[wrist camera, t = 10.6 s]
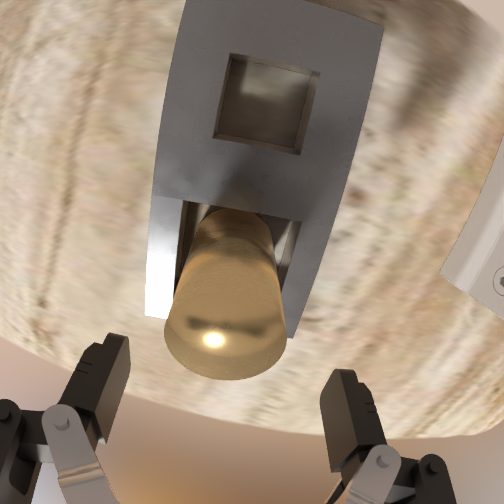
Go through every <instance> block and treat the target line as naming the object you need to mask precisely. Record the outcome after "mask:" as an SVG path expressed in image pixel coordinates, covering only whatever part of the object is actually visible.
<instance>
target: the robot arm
mask: <svg viewBox="0 0 504 504" xmlns="http://www.w3.org/2000/svg"><path fill="white" fill-rule="evenodd" d="M130 366H131V362H130V350H129V339H128V337H126V336H122V335H118V334H114V333H108V334H107V336H106V338H105V340H104V342H103V344H99V343H95V342H94V343H93V344H92V345H91V346H89V347H88V348H87V349H86V350H85V351H84V353H83V355H82V357H81V358H80V361H79V362H78V364H77V366H76V368H75V371H74V372H73V374H72V376H71V378H70V380H69V382H68V384H67V386H66V389H65V390H64V392H63V395H62V397H61V399H60V401H59V402H58V403H57V404H56V405H53V406H51V407H49V408H48V409H47V410H46V411H30V410H20V409H19V407H18V405H16V403H14V402H13V401H11V400H8V399H1V400H0V504H31V502H32V498H33V494H34V490H35V486H36V483H37V479H38V476H39V472H40V469H41V465H42V462H43V463H54V464H55V466H56V469H57V472H58V476H59V477H58V482H59V485H60V488H61V490H62V493H63V495H64V498H65V500H66V502H67V504H120V502H119V500H118V498H117V497H116V495H115V493H114V491H113V489H112V487H111V486H110V483H109V482H108V479H107V478H106V475H105V473H104V471H103V469H102V467H101V465H100V463H99V461H98V458H97V456H96V454H95V450H96V446H97V443H98V442H99V443H102V444H105V445H106V443H107V440H108V437H109V434H110V431H111V427H112V424H113V421H114V418H115V415H116V412H117V409H118V406H119V403H120V400H121V397H122V394H123V392H124V389H125V386H126V383H127V380H128V377H129V373H130ZM320 409H321V415H322V420H323V426H324V432H325V438H326V443H327V450H328V456H329V462H330V468H331V472H332V473H333V472H341V476H342V478H341V479H340V480H339V482H338V483H337V484H336V486H335V488H334V489H333V491H332V492H331V494H330V495H329V497H328V498H327V499H326V501H325V502H324V504H457V503H456V499H455V495H454V491H453V488H452V484H451V480H450V477H449V473H448V470H447V466H446V464H445V462H444V461H443V459H442V458H440V457H439V456H437V455H435V454H428V455H425V456H424V457H423V458H421V459H420V460H415V459H410V458H404V457H401V456H400V455H399V453H398V452H397V451H396V450H395V449H394V448H393V447H391V446H388V445H387V442H386V439H385V436H384V432H383V429H382V426H381V422H380V419H379V416H378V413H377V409H376V406H375V405H374V400H373V397H372V394H371V392H370V390H369V389H368V388H367V386H366V385H365V384H364V383H359V382H358V379H357V376H356V373H355V371H354V370H349V369H335V370H334V371H333V372H332V374H331V376H330V378H329V380H328V382H327V383H326V385H325V387H324V389H323V390H322V393H321V396H320Z"/></svg>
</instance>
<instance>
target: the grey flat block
mask: <svg viewBox="0 0 504 504" xmlns="http://www.w3.org/2000/svg"><path fill="white" fill-rule="evenodd" d="M383 31H384V27H383V26H380V25H378V24H375V23H373V22H370V21H367V20H365V19H362V18H359V17H357V16H354V15H351V14H348V13H345V12H342V11H339V10H336V9H333V8H329V7H326V6H323V5H319V4H316V3H312V2H308V1H305V0H186V3H185V7H184V11H183V14H182V18H181V22H180V26H179V31H178V35H177V39H176V43H175V48H174V52H173V57H172V62H171V67H170V72H169V77H168V82H167V87H166V93H165V99H164V105H163V111H162V117H161V123H160V130H159V137H158V144H157V152H156V160H155V168H154V177H153V186H152V196H151V208H150V220H149V234H148V251H147V273H146V315H150V316H155V317H160V318H165V319H167V317H168V314H169V311H170V307H171V304H172V301H173V298H174V295H175V292H176V289H177V286H178V283H179V280H180V268H181V258H182V250H183V241H184V233H185V225H186V217H187V209H188V202H189V201H192V202H198V203H204V204H209V205H215V206H221V207H226V208H232V209H237V210H243V211H248V212H254V213H259V214H264V215H269V216H275V217H280V218H285V219H290V220H292V222H291V226H290V230H289V233H288V237H287V241H286V244H285V248H284V251H283V255H282V259H281V262H280V266H279V269H278V280H279V286H280V293H281V299H282V306H283V313H284V319H285V326H286V334H287V338H293V337H294V334H295V331H296V329H297V326H298V324H299V321H300V318H301V316H302V313H303V310H304V307H305V305H306V302H307V299H308V297H309V294H310V291H311V288H312V285H313V283H314V280H315V277H316V274H317V271H318V268H319V265H320V262H321V259H322V256H323V254H324V251H325V248H326V245H327V241H328V238H329V235H330V232H331V229H332V226H333V223H334V220H335V217H336V213H337V210H338V207H339V204H340V201H341V197H342V194H343V191H344V187H345V184H346V181H347V177H348V174H349V170H350V167H351V163H352V160H353V156H354V152H355V149H356V145H357V142H358V138H359V134H360V130H361V126H362V123H363V119H364V115H365V111H366V107H367V103H368V99H369V95H370V90H371V86H372V82H373V78H374V73H375V69H376V64H377V60H378V55H379V50H380V45H381V41H382V36H383ZM232 59H236V60H242V61H247V62H253V63H258V64H263V65H268V66H273V67H277V68H282V69H286V70H290V71H294V72H298V73H302V74H306V75H310V76H311V77H310V82H309V86H308V90H307V94H306V99H305V103H304V107H303V111H302V115H301V120H300V124H299V128H298V132H297V136H296V140H295V145H294V148H290V147H285V146H281V145H276V144H272V143H267V142H262V141H257V140H252V139H247V138H242V137H236V136H231V135H225V134H219V133H217V130H218V125H219V120H220V114H221V109H222V104H223V100H224V95H225V90H226V85H227V80H228V76H229V71H230V67H231V62H232Z"/></svg>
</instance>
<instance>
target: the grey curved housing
mask: <svg viewBox="0 0 504 504" xmlns="http://www.w3.org/2000/svg"><path fill="white" fill-rule="evenodd" d="M439 273H440V274H441V275H442V276H443V277H445V278H446V279H447V280H448V281H449V282H450V283H451V284H453V285H454V286H456V287H457V288H459V289H460V290H462V291H463V292H465V293H466V294H468V295H469V296H471V297H472V298H474V299H475V300H477V301H478V302H479V303H481V304H482V305H484V306H485V307H486V308H488V309H489V310H491V311H492V312H493V313H495V314H496V315H498V316H499V317H500V318H502V319H503V320H504V136H503V138H502V141H501V144H500V147H499V149H498V152H497V155H496V157H495V160H494V162H493V165H492V167H491V170H490V172H489V174H488V177H487V179H486V181H485V184H484V186H483V188H482V191H481V193H480V195H479V197H478V199H477V201H476V204H475V206H474V208H473V210H472V212H471V214H470V216H469V218H468V220H467V222H466V224H465V226H464V228H463V230H462V232H461V234H460V236H459V237H458V239H457V241H456V243H455V245H454V247H453V248H452V250H451V252H450V254H449V256H448V257H447V259H446V261H445V263H444V264H443V266H442V268H441V269H440V271H439Z"/></svg>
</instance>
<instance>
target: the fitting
mask: <svg viewBox="0 0 504 504" xmlns="http://www.w3.org/2000/svg"><path fill="white" fill-rule="evenodd" d="M164 337H165V342H166V344H167V347H168V349H169V351H170V352H171V354H172V355H173V356H174V358H175V359H176V360H177V361H178V362H179V363H180V364H182V365H183V366H184V367H186V368H187V369H189V370H190V371H192V372H194V373H196V374H199V375H202V376H204V377H208V378H212V379H218V380H240V379H246V378H250V377H253V376H256V375H258V374H261V373H263V372H265V371H266V370H268V369H269V368H271V367H272V366H273V365H274V364H275V363H276V362H277V361H278V360H279V359H280V357H281V356H282V354H283V352H284V350H285V347H286V342H287V334H286V326H285V319H284V313H283V306H282V299H281V293H280V286H279V280H278V273H277V267H276V260H275V254H274V248H273V242H272V236H271V232H270V230H269V228H268V226H267V224H266V223H265V222H264V220H263V219H262V218H260V217H259V216H258V215H257V214H255V213H253V212H248V211H243V210H237V209H232V208H222V209H219V210H216V211H214V212H212V213H211V214H209V215H208V216H207V217H206V218H205V219H204V220H203V221H202V222H201V223H200V225H199V227H198V229H197V231H196V234H195V237H194V240H193V242H192V245H191V248H190V251H189V254H188V257H187V259H186V262H185V265H184V268H183V271H182V274H181V277H180V280H179V283H178V286H177V289H176V292H175V295H174V298H173V301H172V304H171V307H170V311H169V314H168V317H167V320H166V323H165V328H164Z"/></svg>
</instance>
